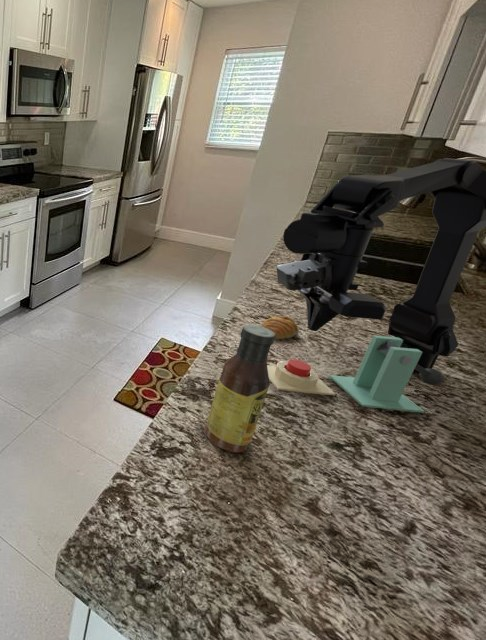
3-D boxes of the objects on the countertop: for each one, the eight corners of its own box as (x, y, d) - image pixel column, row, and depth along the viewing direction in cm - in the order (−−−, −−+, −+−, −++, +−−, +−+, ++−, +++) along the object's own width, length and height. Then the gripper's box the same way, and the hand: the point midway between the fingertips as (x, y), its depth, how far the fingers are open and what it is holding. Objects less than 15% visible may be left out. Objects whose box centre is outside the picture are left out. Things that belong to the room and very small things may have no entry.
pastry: (285, 346, 94) (290, 331, 93) (252, 334, 99) (257, 320, 98) (298, 334, 100) (303, 320, 98) (266, 323, 104) (271, 310, 103)
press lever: (422, 381, 77) (437, 370, 76) (437, 391, 74) (452, 380, 73) (373, 349, 76) (387, 337, 75) (386, 358, 73) (401, 346, 72)
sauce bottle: (247, 461, 62) (287, 348, 55) (202, 444, 65) (234, 334, 58) (248, 435, 67) (284, 328, 60) (205, 420, 70) (235, 316, 63)
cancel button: (301, 367, 81) (303, 360, 81) (312, 378, 78) (315, 370, 77) (281, 365, 82) (284, 358, 81) (292, 376, 78) (295, 368, 78)
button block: (307, 373, 84) (312, 361, 83) (333, 399, 77) (339, 385, 76) (255, 368, 85) (259, 356, 84) (276, 393, 78) (281, 380, 77)
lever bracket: (382, 385, 81) (406, 333, 77) (422, 416, 73) (451, 360, 69) (327, 379, 82) (348, 328, 78) (360, 410, 74) (386, 354, 70)
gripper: (264, 233, 81) (243, 304, 86) (326, 266, 63) (295, 352, 69) (325, 237, 79) (300, 309, 85) (406, 271, 62) (367, 359, 68)
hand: (312, 329), depth 77 cm, fingers closed
